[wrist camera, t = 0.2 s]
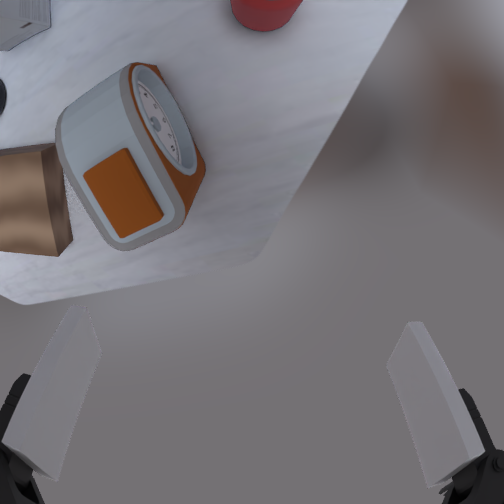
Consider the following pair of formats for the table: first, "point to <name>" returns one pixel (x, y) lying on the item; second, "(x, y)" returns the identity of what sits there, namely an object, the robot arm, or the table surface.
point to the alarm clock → (130, 157)
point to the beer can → (264, 13)
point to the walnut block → (33, 201)
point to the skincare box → (22, 20)
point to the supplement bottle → (2, 96)
